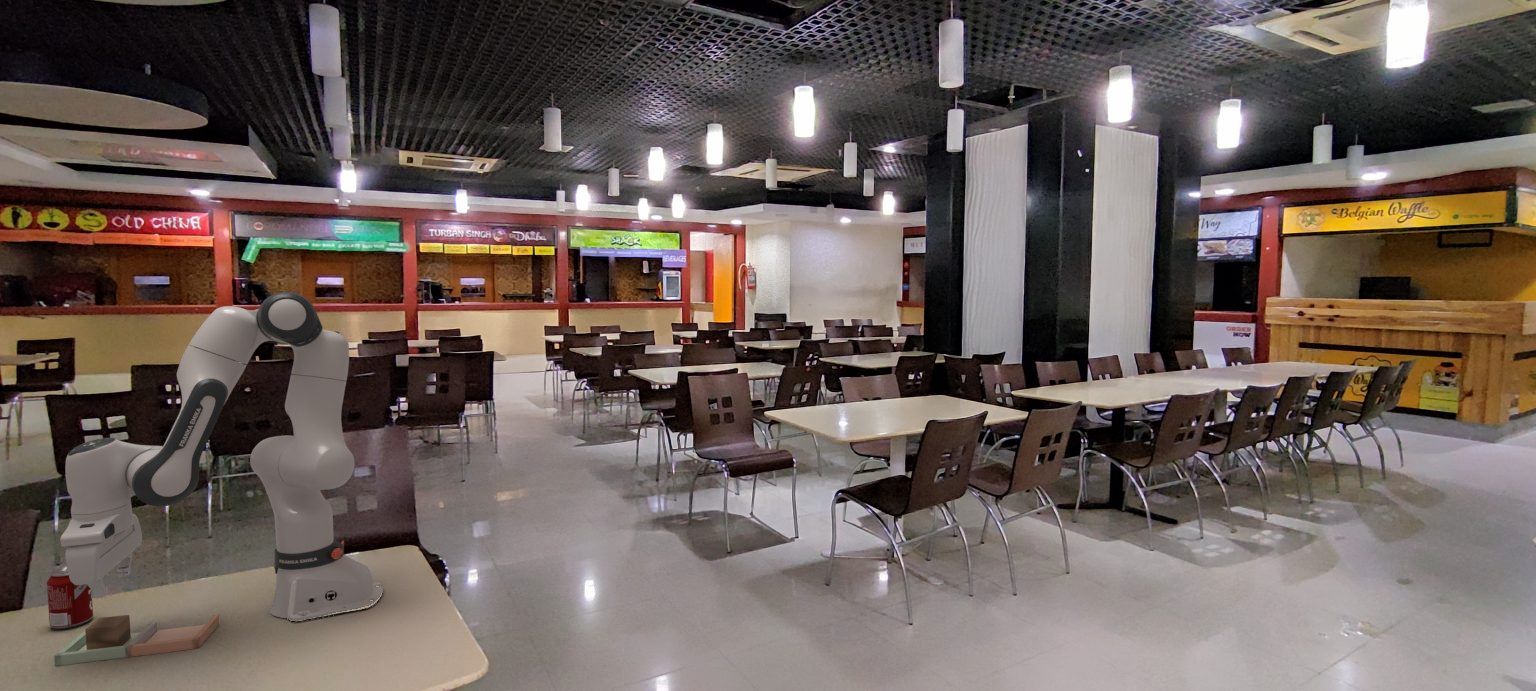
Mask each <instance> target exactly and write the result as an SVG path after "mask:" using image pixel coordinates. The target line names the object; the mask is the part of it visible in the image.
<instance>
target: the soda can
mask: <svg viewBox="0 0 1536 691" xmlns="http://www.w3.org/2000/svg"><path fill="white" fill-rule="evenodd" d="M49 575H50V576H49V578H48V579H47V581H46V589H47V590H46V591H47V592H46V593H47V605H48V606H47V607H48V621H49V627H51V628H53V629H58V630H67V629H73V628H76V627H79V626H82V625H84V624H86V623H87V622H88V621H90V620H91V619H93V617H94V607H93V591H92V590H91V589H90V587H89V586H88V585H87V584H84V585H74V584H73V583H72V582H71V580H70V578H69V574H68V569H67V565H66V566H62V567H59V568H56V569H53V570H52V571H51V572H50V574H49Z"/></svg>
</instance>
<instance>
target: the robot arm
mask: <svg viewBox="0 0 1536 691" xmlns="http://www.w3.org/2000/svg"><path fill="white" fill-rule="evenodd" d="M263 343H269V344H276V345H277V344H279V345H289V346H290V348H291V349H292V350H293V355H294V356H293V363H292V364H293V365H292V368H291V372H290V373H291V374H290V376H289V377H290V378H289V384H288V388H287V393H286V398H285V402H284V410H285V412H286V414H287V416H288V417H289V418H290V421H291V424H292V431H293V435H286V434H285V435H275V436H271V437H267V438H265V439H262V440H261V441H259V442H258V443H257V444H256V445H255V447H254V448H253V449H252V451H251V454H250V458H249V461H250V462H249V464H250V468H251V469H252V471H253V472H254V474H256V475H257V477H258V478H259V479H260V481H261V483H262V484H263V487H264V489H265V492H266V494H267V498H268V500H269V502H270V505H271V508H272V511H273V513H272V514H273V517H274V526H275V529H274V530H275V541H276V542H275V543H276V548H275V549H274V553H273V567H274V574H276V575H275V577H276V579H275V589H274V594H273V599H272V603H271V606H270V609H269V610H270V611H269V612H270V614H271V615H272V616H274V617H277V618H281V619H282V618H283V619H286V618H287V619H286V620H288V619H289V620H290V621H289V620H288V621H289V622H291V621H299V620H304V619H310V618H313V617H319V616H324V615H328V614H332V613H336V612H342V611H347V610H352V609H358V608H361V607H365V606H369V605H371V604H372V603H374V602H375V601H376V600H377V599H378V598H379V597H380V595H381V593H382V591H383V592H384V586H383V584H382V583H381V582H378V581H373V578H372V573H371V570H370V569H369V567H368V566H367V565H366V564H363V563H362V562H359V561H358V560H355V559H354V558H351V557H349V556H348V555H346V554H345V541H344V540H342V541H341V542H339V541H338V540H336V539H335V538H334V519H333V518H334V517H333V516H334V515H333V513H334V512H333V508H332V506H331V504H330V503H329V502H328V500H327V499H326V498H325V497H324V495H323V493H322V491H323V490H324V491H325V490H333V489H337V488H340V487H342V486H343V485H345V484H346V483H347V482H348V481H349V480H350V478H351V477H352V475H353V473H354V471H355V464H356V463H355V458H354V455H353V453H352V452H351V450H350V449H349V447H348V446H347V443H346V441H345V437H344V432H343V426H342V410H343V409H342V407H343V405H344V404H343V403H344V397H345V393H346V392H345V390H346V385H347V380H348V374H349V364H350V347H349V342H348V340H347V339H346V337H345V336H343V335H342V334H340V333H338V332H336V331H333V330H328V329H324V328H323V324H322V323H321V321H320V318H319V315H318V313H317V310H316V308H315V307H314V305H313V303H312V302H311V301H310V300H309V299H308V298H307V297H305V296H303V295H302V294H299V293H297V292H292V291H280V292H276V293H274V294H272V295H270V296H268V297H267V298H265V299H264V300H263V301H262V303H261V304H260V306H259V308H256V309H254V310H251V309H250V310H249V309H245V308H242V307H238V306H231V305H225V306H220V307H217V308H216V309H215V310H213V311H212V313H211V314H210V315H209V316H207V318H206V319H205V320H204V321H203V323H202V324H201V326H199V328H198V330H196V332H195V334H194V335H193V337H192V338H191V340H190V342H189V343H188V345H187V347H186V348H185V350H184V352H183V354H182V357H181V359H180V362H179V364H178V368H177V370H176V371H177V372H176V380H177V382H178V385H179V388H180V393H181V406H180V407H181V408H180V410H179V413H178V415H177V418H176V419H175V421H174V423H173V425H172V427H171V430H170V432H169V434H168V436H167V437H166V440H165V442H164V444H163V445H148V444H147V445H145V444H136V443H131V442H126V441H122V440H119V439H117V438H116V437H115V438H114V437H103V438H98V439H97V438H96V439H94V440H93V439H91V440H90V441H86V442H84V443H82V444H79V445H77V446H75V447H73V449H71V450H70V451H69V452H68V454H67V456H66V458H65V482H66V489H67V493H68V495H69V496H70V498H71V507H70V515H71V519H70V520H69V523H68V524H67V527H66V529H65V530H64V531H63V533H62V535H61V536H60V540H59V541H60V545H61V547H63V548H64V547H66V549H65V553H64V555H65V557H64V558H65V563H66V566H67V569H68V574H69V578H70V580H71V582H72V583H73V584H74V585H84V584H87V585H88V586H89V587H90V589H91V590H92V598H94V599H101V598H104V597H105V596H107V594H109V586H108V585H105V583H104V580H105V575H107V574H108V573H109V572H110V571H111V570H113V569H114V568H115V567H116V566H117V565H118V567H117V569H116V574H117V577H118V578H126V577H128V576H129V575H130V574H131V573H132V566H131V565H132V560H133V556H134V555H133V552H134V551H135V550H136V549H138V547H140V546H141V545H142V544H143V533H142V528H141V525H140V521H139V518H138V515H136V514H135V513H133V508H132V500H131V498H132V497H134V496H136V497H137V499H139V500H140V501H141V502H142V503H144V504H146V505H149V506H153V507H168V506H172V505H173V506H174V505H175V504H178V503H181V502H182V501H184V500H185V499H187V498H188V497H189V496H190V495H192V494H193V493H194V491H195V489H196V488H197V486H198V484H199V481H200V462H201V457H202V455H203V451H204V450H205V448H206V445H207V444H208V441H209V438H210V437H211V435H212V433H213V430H214V429H215V426H216V423H217V421H218V419H219V417H220V414H221V412H222V411H223V407H224V406H225V404H226V403H227V401H228V398H229V397H230V395H231V393H232V392H233V389H234V388H235V387H236V384H238V381H239V380H240V378H241V376H242V375H243V373H244V371H245V369H246V367H247V365H248V364H249V362H250V360H251V358H252V357H253V354H254V353H255V351H256V350H257V349H258V347H259V346H260V345H261V344H263ZM381 585H382V586H381ZM376 586H379V587H376ZM370 600H373V601H370Z"/></svg>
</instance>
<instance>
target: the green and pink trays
mask: <svg viewBox="0 0 1536 691" xmlns="http://www.w3.org/2000/svg"><path fill="white" fill-rule="evenodd" d="M219 625H220V614H215V615H212V617H210V619H209V620H208V621H207V622H206V624H201V625H200V624H199V625H193V626H192V625H191V626H183V627H174V628H166V629H165V628H164V629H158V621H152V622H150V623H149V624H148V625H147V626H146V627H145V628H144V629H143V630H142V631H139V632H138V631H137V632H132V633H131V632H130V633H131V638H130V639H129V640H128V641H127V642H126V643H125V644H124V645H123V646H116V647H108V648H100V649H91V650H87V647H86V632H85V630H84V631H83V632H81V633H80V634H79V635H78V636H77V637H75V638H74V639H73V640H72V641H70V642H69V643H68V644H67V645H66V646H65V647H63V648H62V649H61V650H60V651H58V652H57V653H56V654H55V655H54V656H53V657H54V658H53V659H54V666H55V667H58V666H65V665H75V664H81V663H90V662H97V661H106V660H107V661H109V660H115V659H123V658H124V659H125V658H130V657H131V658H132V657H139V656H148V655H154V654H164V653H172V652H180V651H186V650H187V651H188V650H195V649H200V647H201V646H202V645H203V644H204V643H205V642H206V640H207V639H208V637H210V635H211V634H212V633H213V632H214V631H215V629H216V628H217V627H218V626H219Z"/></svg>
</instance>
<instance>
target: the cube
mask: <svg viewBox="0 0 1536 691" xmlns="http://www.w3.org/2000/svg"><path fill="white" fill-rule="evenodd" d="M130 616H131V615H130V614H125V615H124V614H123V615H122V614H121V615H114V616H106V617H105V616H104V617H99V618H97V619H96V620H95V621H93V622H92V623H91V624H90V625H89V626H87V627H86V628H85V629H84V631H85V632H86V647H87V650H91V649H100V648H108V647H116V646H123V645H124V644H125V643H126V642H127V641H128V640H129V639H130V638H131V619H130V618H131V617H130Z"/></svg>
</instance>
